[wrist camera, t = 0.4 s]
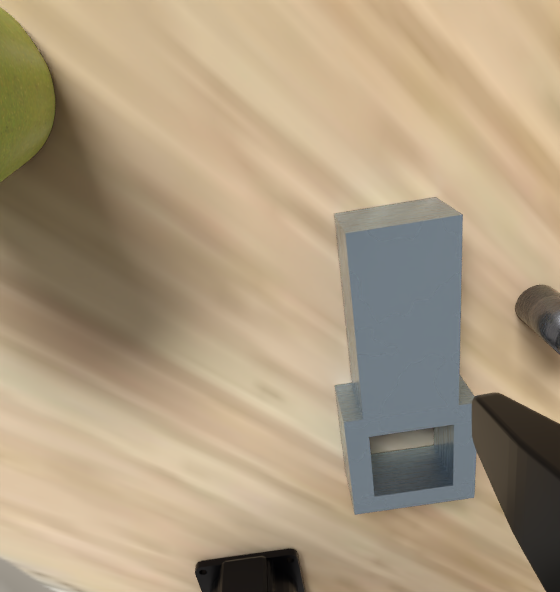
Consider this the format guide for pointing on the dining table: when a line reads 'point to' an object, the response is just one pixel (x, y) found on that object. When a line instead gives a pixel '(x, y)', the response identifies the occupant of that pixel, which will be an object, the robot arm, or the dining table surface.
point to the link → (404, 354)
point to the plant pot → (22, 97)
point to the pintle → (541, 313)
